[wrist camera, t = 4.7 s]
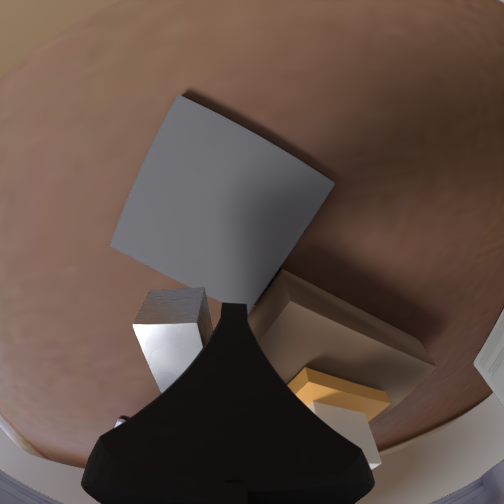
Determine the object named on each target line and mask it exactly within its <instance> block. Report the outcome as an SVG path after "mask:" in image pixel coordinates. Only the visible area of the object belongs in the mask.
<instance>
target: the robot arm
mask: <svg viewBox="0 0 504 504" xmlns="http://www.w3.org/2000/svg"><path fill="white" fill-rule="evenodd" d="M247 317H248V313H247V304H242V303H225V302H222V308H221V319H220V320H219V322H218V324H217V326H216V328H215V330H214V331H213V333H212V335H211V336H210V338H209V339H208V341H207V343H206V344H205V345H204V347H203V348H202V349H201V351H200V352H199V354H198V355H197V356H196V358H195V359H194V360H193V361H192V363H191V364H190V365H189V366H188V367H187V369H186V370H185V371H184V372H183V373H182V374H181V375H180V376H179V377H178V378H177V379H176V380H175V381H174V382H173V383H172V384H171V385H170V386H169V387H168V388H167V389H166V390H165V391H164V392H163V393H162V394H161V395H159V396H158V397H157V398H156V399H155V400H153V401H152V402H151V403H150V404H148V405H147V406H146V407H144V408H143V409H142V410H140V411H139V412H138V413H137V414H135V415H134V416H132V417H131V418H129V419H128V420H124V419H118V420H117V423H116V425H115V427H114V428H113V429H111V430H110V431H108V432H106V433H105V434H103V435H101V436H100V437H99V439H98V441H97V442H96V444H95V446H94V448H93V450H92V452H91V454H90V456H89V458H88V461H87V464H86V468H85V471H84V474H83V478H82V481H81V486H82V487H83V489H84V490H85V491H86V492H87V493H88V494H89V495H90V496H91V497H93V498H94V499H95V500H96V501H98V502H97V504H354V503H356V502H357V501H358V500H360V499H361V498H362V497H364V496H365V495H366V494H368V493H369V492H370V491H371V489H372V488H373V487H374V484H375V481H374V477H373V474H372V470H371V468H370V465H369V463H368V461H367V459H366V457H365V455H364V453H363V451H362V449H361V448H360V447H359V446H357V445H355V444H354V443H352V442H351V441H349V440H348V439H346V438H345V437H343V436H342V435H340V434H339V433H338V432H336V431H335V430H334V429H332V428H331V427H330V426H329V425H327V424H326V423H325V422H324V421H323V420H321V419H320V418H319V417H318V416H317V415H316V414H315V413H313V412H312V411H311V410H310V409H309V408H308V407H307V406H306V405H305V404H304V403H303V402H302V401H301V400H300V399H299V398H298V397H297V396H296V395H295V394H294V393H293V392H292V390H291V389H290V388H289V387H288V386H287V385H286V383H285V382H284V381H283V380H282V378H281V377H280V376H279V375H278V373H277V372H276V371H275V369H274V368H273V366H272V365H271V363H270V362H269V360H268V359H267V357H266V356H265V354H264V352H263V351H262V349H261V347H260V345H259V344H258V342H257V340H256V338H255V336H254V334H253V332H252V330H251V328H250V325H249V323H248V320H247ZM0 504H63V503H61V502H59V501H57V500H54V499H52V498H50V497H48V496H46V495H44V494H42V493H40V492H38V491H36V490H34V489H32V488H30V487H28V486H27V485H25V484H23V483H21V482H20V481H18V480H16V479H14V478H13V477H11V476H9V475H8V474H6V473H5V472H3V471H1V470H0ZM430 504H504V460H502V461H501V462H499V463H498V464H496V465H495V466H494V467H492V468H491V469H490V470H489V471H487V472H486V473H485V474H484V475H482V477H481V478H479V479H477V480H476V481H474V482H472V483H470V484H468V485H467V486H465V487H463V488H461V489H459V490H457V491H455V492H453V493H451V494H449V495H447V496H445V497H443V498H441V499H439V500H436V501H434V502H432V503H430Z"/></svg>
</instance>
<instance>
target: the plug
mask: <svg viewBox="0 0 504 504" xmlns="http://www.w3.org/2000/svg"><path fill="white" fill-rule="evenodd" d="M287 386H288V387H289V388H290V389H291V390H292V392H293V393H294V394H295V395H296V396H297V397H298V398H299V399H300V400H301V401H302V402H303V403H304V404H305V405H306V406H307V407H308V408H309V409H310V410H311V411H312V412H313V413H315V414H316V415H317V416H318V417H319V418H320V419H321V420H323V421H324V422H325V423H326V424H327V425H329V426H330V427H331V428H332V429H334V430H335V431H336V432H338V433H339V434H340V435H342V436H343V437H345V438H346V439H348V440H349V441H351V442H352V443H354V444H355V445H357V446H359V447H360V448H361V449H362V451H363V453H364V455H365V457H366V459H367V461H368V463H369V465H370V468H371V470H372V469H373V468H375V467H377V466H378V465H380V464H381V460H380V457H379V454H378V451H377V448H376V445H375V442H374V439H373V436H372V433H371V430H370V427H369V424H368V422H369V421H370V420H371V419H373V418H374V417H375V416H376V415H378V414H379V413H380V412H381V411H383V410H384V409H385V408H386V407H387V406H389V405H390V404H391V403H390V401H389V398H388V396H387V394H386V392H385V391H381V390H377V389H374V388H370V387H367V386H363V385H360V384H356V383H353V382H350V381H347V380H343V379H340V378H337V377H334V376H331V375H328V374H325V373H322V372H319V371H316V370H313V369H310V368H307V367H305V368H304V369H303V370H302V371H301V372H300V373H299V374H298V375H297V376H296V377H295V378H294V379H293V380H292V381H291V382H290V383H289V384H288V385H287Z"/></svg>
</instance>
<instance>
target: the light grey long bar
mask: <svg viewBox="0 0 504 504" xmlns="http://www.w3.org/2000/svg"><path fill="white" fill-rule="evenodd" d="M133 327H134V330H135V332H136V335H137V337H138V340H139V342H140V345H141V347H142V350H143V352H144V355H145V357H146V360H147V362H148V364H149V367H150V369H151V371H152V373H153V376H154V378H155V380H156V382H157V384H158V387H159V389H160V391H161V393H163V392H164V391H165V390H166V389H167V388H168V387H169V386H170V385H171V384H172V383H173V382H174V381H175V380H176V379H177V378H178V377H179V376H180V375H181V374H182V373H183V372H184V371H185V370H186V369H187V367H188V366H189V365H190V364H191V363H192V361H193V360H194V359H195V358H196V356H197V355H198V354H199V352H200V351H201V349H202V348H203V347H204V345H205V344H206V343H207V341H208V339H209V338H210V336H211V335H212V333H213V328H212V323H211V318H210V313H209V308H208V303H207V298H206V293H205V287H196V288H182V289H167V290H151V291H149V293H148V295H147V297H146V299H145V301H144V303H143V305H142V307H141V309H140V311H139V313H138V315H137V317H136V319H135V321H134V323H133Z"/></svg>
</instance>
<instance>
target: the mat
mask: <svg viewBox="0 0 504 504" xmlns="http://www.w3.org/2000/svg"><path fill="white" fill-rule="evenodd" d="M335 184H336V183H334V182H333V181H331V180H330V179H328V178H327V177H325V176H324V175H322V174H321V173H319V172H317V171H316V170H314V169H313V168H311V167H310V166H308V165H307V164H305V163H303V162H302V161H300V160H299V159H297V158H295V157H294V156H292V155H291V154H289V153H287V152H286V151H284V150H282V149H281V148H279V147H277V146H276V145H274V144H272V143H270V142H269V141H267V140H265V139H264V138H262V137H260V136H258V135H257V134H255V133H253V132H251V131H249V130H248V129H246V128H244V127H242V126H240V125H238V124H237V123H235V122H233V121H231V120H229V119H227V118H225V117H223V116H221V115H219V114H217V113H215V112H214V111H212V110H210V109H208V108H206V107H203V106H201V105H199V104H197V103H195V102H193V101H191V100H189V99H187V98H185V97H183V96H180V95H178V96H177V98H176V99H175V101H174V103H173V105H172V106H171V108H170V110H169V112H168V114H167V116H166V117H165V119H164V121H163V123H162V125H161V127H160V129H159V131H158V133H157V135H156V137H155V139H154V141H153V143H152V145H151V147H150V149H149V151H148V153H147V155H146V157H145V159H144V162H143V164H142V166H141V168H140V170H139V173H138V175H137V177H136V179H135V182H134V184H133V186H132V189H131V191H130V194H129V196H128V199H127V201H126V203H125V206H124V209H123V211H122V214H121V216H120V219H119V222H118V224H117V227H116V230H115V232H114V235H113V238H112V241H111V244H110V246H111V247H113V248H115V249H117V250H119V251H120V252H122V253H124V254H126V255H128V256H130V257H132V258H134V259H135V260H137V261H139V262H141V263H143V264H145V265H147V266H149V267H151V268H153V269H155V270H156V271H158V272H160V273H162V274H164V275H166V276H168V277H170V278H172V279H174V280H176V281H178V282H180V283H182V284H184V285H186V286H188V287H190V288H196V287H205V293H206V295H207V296H209V297H211V298H213V299H215V300H218V301H220V302H225V303H242V304H247V313H248V312H249V311H250V310H251V308H252V307H253V305H254V304H255V303H256V301H257V300H258V298H259V297H260V295H261V294H262V293H263V291H264V290H265V288H266V287H267V285H268V284H269V282H270V281H271V280H272V278H273V277H274V275H275V274H276V272H277V271H278V269H279V268H280V266H281V265H282V264H283V262H284V261H285V259H286V258H287V256H288V255H289V253H290V252H291V250H292V249H293V247H294V246H295V244H296V243H297V241H298V240H299V238H300V237H301V235H302V234H303V232H304V231H305V229H306V228H307V226H308V225H309V223H310V222H311V220H312V219H313V217H314V216H315V214H316V213H317V211H318V210H319V208H320V207H321V205H322V204H323V202H324V201H325V199H326V198H327V196H328V194H329V193H330V191H331V190H332V188H333V187H334V185H335Z"/></svg>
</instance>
